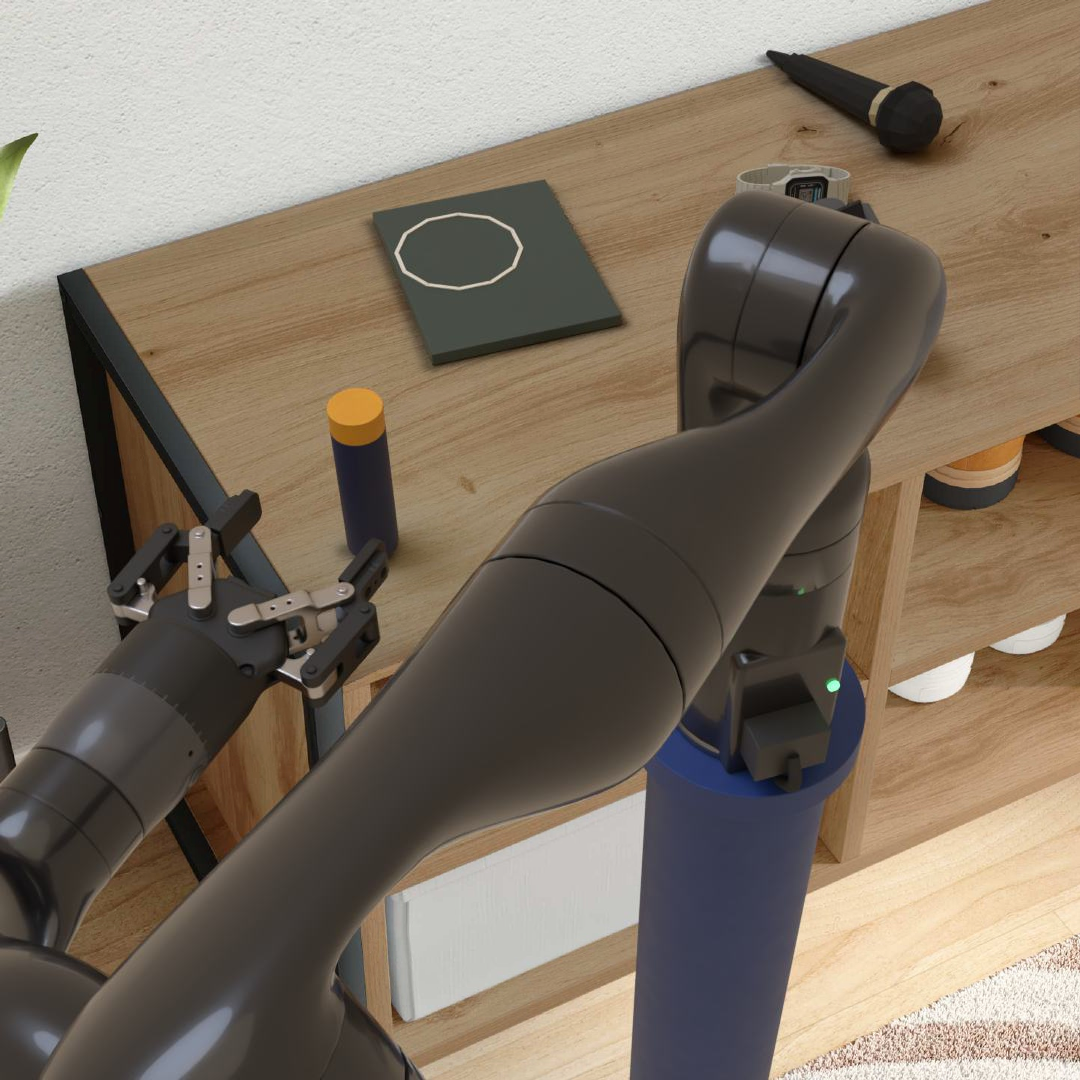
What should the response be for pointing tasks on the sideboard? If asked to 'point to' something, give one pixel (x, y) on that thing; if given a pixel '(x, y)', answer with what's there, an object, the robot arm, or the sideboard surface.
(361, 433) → the marker
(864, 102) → the microphone
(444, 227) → the slate
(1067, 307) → the sideboard surface
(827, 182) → the wristwatch
